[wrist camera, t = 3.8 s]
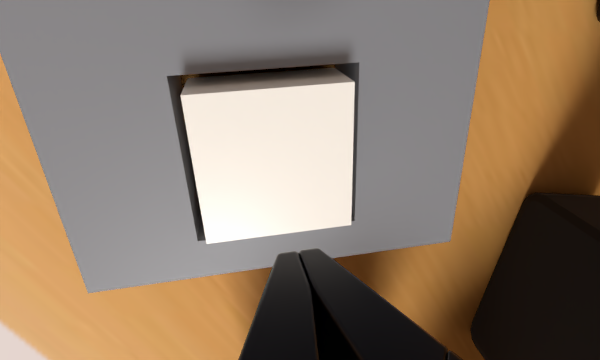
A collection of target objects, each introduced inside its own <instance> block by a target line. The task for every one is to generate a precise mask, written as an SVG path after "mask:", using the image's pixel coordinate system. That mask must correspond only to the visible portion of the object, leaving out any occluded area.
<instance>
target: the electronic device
mask: <svg viewBox="0 0 600 360" xmlns="http://www.w3.org/2000/svg"><path fill="white" fill-rule="evenodd" d="M471 336H472V340H473V342H474V344H475V346H476V348H477V349H478V350H479V352H480V353H481V355H482V356H483V357H484V359H485V360H600V196H594V195H573V194H553V193H534V194H531V195H528V197H527V198H526V199H525V201H524V202H523V204H522V206H521V208H520V211H519V213H518V215H517V218H516V220H515V223H514V225H513V227H512V230H511V232H510V234H509V237H508V239H507V241H506V244H505V246H504V248H503V251H502V253H501V255H500V258H499V260H498V262H497V265H496V267H495V269H494V272H493V274H492V276H491V279H490V281H489V284H488V286H487V288H486V291H485V293H484V295H483V298H482V300H481V302H480V305H479V307H478V309H477V312H476V314H475V316H474V319H473V321H472V325H471Z"/></svg>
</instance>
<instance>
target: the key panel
mask: <svg viewBox="0 0 600 360" xmlns="http://www.w3.org/2000/svg"><path fill="white" fill-rule="evenodd" d="M489 1H490V0H0V54H1V56H2V59H3V62H4V65H5V67H6V70H7V73H8V76H9V78H10V81H11V84H12V86H13V89H14V92H15V95H16V97H17V100H18V103H19V106H20V108H21V111H22V114H23V116H24V119H25V122H26V125H27V127H28V130H29V133H30V136H31V138H32V141H33V144H34V147H35V149H36V152H37V155H38V157H39V160H40V163H41V166H42V168H43V171H44V174H45V177H46V179H47V182H48V185H49V188H50V190H51V193H52V196H53V198H54V201H55V204H56V207H57V209H58V212H59V215H60V218H61V220H62V223H63V226H64V228H65V231H66V234H67V237H68V239H69V242H70V245H71V248H72V250H73V253H74V256H75V259H76V261H77V264H78V267H79V269H80V272H81V275H82V278H83V280H84V283H85V286H86V289H87V291H88V293H93V292H100V291H107V290H114V289H121V288H128V287H135V286H142V285H149V284H156V283H163V282H170V281H177V280H184V279H191V278H198V277H205V276H212V275H219V274H226V273H233V272H240V271H247V270H254V269H261V268H268V267H273V264H274V262H275V259H276V256H277V255H278V254H279V253H283V252H291V251H296V252H298V253H299V251H300V250H305V249H312V248H319V249H321V250H322V251H323V252H325V253H326V254H327V255H328V256H330V257H331V258H338V257H345V256H352V255H359V254H366V253H373V252H380V251H387V250H394V249H401V248H408V247H415V246H422V245H429V244H436V243H443V242H450V240H451V234H452V228H453V222H454V216H455V210H456V204H457V197H458V191H459V185H460V179H461V173H462V167H463V161H464V154H465V148H466V142H467V136H468V130H469V124H470V118H471V111H472V105H473V99H474V93H475V87H476V81H477V75H478V68H479V62H480V56H481V50H482V44H483V38H484V32H485V25H486V19H487V13H488V7H489ZM328 64H335V68H336V69H337V70H338V71H340V72H341V73H343V74H344V75H346V76H347V77H349V78H350V79H351V80H353V81H354V82H355V94H354V134H353V174H352V215H351V225H348V226H340V227H333V228H325V229H317V230H310V231H302V232H295V233H287V234H279V235H272V236H264V237H256V238H249V239H241V240H234V241H226V242H218V243H211V244H207V243H206V238H205V232H204V226H203V221H202V215H201V209H200V204H199V198H198V192H197V187H196V181H195V175H194V170H193V164H192V158H191V153H190V147H189V141H188V136H187V130H186V124H185V119H184V113H183V107H182V101H181V96H180V95H181V93H182V90H183V88H182V83H181V77H180V75H188V74H202V73H216V72H230V71H244V70H258V69H272V68H286V67H300V66H314V65H328Z"/></svg>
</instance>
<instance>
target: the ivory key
mask: <svg viewBox="0 0 600 360" xmlns="http://www.w3.org/2000/svg"><path fill="white" fill-rule="evenodd" d="M354 94H355V82H354V81H353V80H351V79H350V78H349V77H347V76H346V75H344V74H343V73H341V72H340V71H338V70H337V69H336V68H321V69H307V70H293V71H280V72H266V73H252V74H238V75H224V76H210V77H197V78H187V81H186V83H185V86H184V88H183V90H182V93H181V95H180V96H181V101H182V107H183V113H184V119H185V124H186V130H187V136H188V141H189V147H190V153H191V158H192V164H193V170H194V175H195V181H196V187H197V192H198V198H199V204H200V209H201V215H202V221H203V226H204V232H205V238H206V243H207V244H211V243H218V242H226V241H234V240H241V239H249V238H256V237H264V236H272V235H279V234H287V233H295V232H302V231H310V230H317V229H325V228H333V227H340V226H348V225H351V215H352V174H353V134H354Z"/></svg>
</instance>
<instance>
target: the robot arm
mask: <svg viewBox="0 0 600 360" xmlns="http://www.w3.org/2000/svg"><path fill="white" fill-rule="evenodd" d="M597 18H598V21H599V22H600V4H599V7H598V11H597ZM238 360H462V359H461V358H460V357H459V356H457V355H456V354H455V353H453V352H452V351H448V353H447V347H445V346H444V345H443V344H442V343H440V342H439V341H438V340H436V339H435V338H434V337H433V336H431V335H430V334H429V333H427V332H426V331H425V330H424V329H422V328H421V327H420V326H418V325H417V324H416V323H415V322H413V321H412V320H411V319H409V318H408V317H407V316H406V315H404V314H403V313H402V312H400V311H399V310H398V309H397V308H395V307H394V306H393V305H391V304H390V303H389V302H388V301H386V300H385V299H384V298H382V297H381V296H380V295H379V294H377V293H376V292H375V291H373V290H372V289H371V288H370V287H368V286H367V285H366V284H364V283H363V282H362V281H361V280H359V279H358V278H357V277H355V276H354V275H353V274H352V273H350V272H349V271H348V270H346V269H345V268H344V267H343V266H341V265H340V264H339V263H337V262H336V261H335V260H334V259H332V258H331V257H330V256H328V255H327V254H326V253H325V252H323V251H322V250H321V249H319V248H312V249H305V250H300V251H299V253H298V252H296V251H291V252H283V253H279V254H278V255H277V256H276V259H275V262H274V264H273V267H272V270H271V272H270V275H269V278H268V281H267V283H266V286H265V289H264V291H263V294H262V297H261V300H260V302H259V305H258V308H257V310H256V313H255V316H254V319H253V321H252V324H251V327H250V329H249V332H248V335H247V338H246V340H245V343H244V346H243V349H242V351H241V354H240V357H239V359H238Z"/></svg>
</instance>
